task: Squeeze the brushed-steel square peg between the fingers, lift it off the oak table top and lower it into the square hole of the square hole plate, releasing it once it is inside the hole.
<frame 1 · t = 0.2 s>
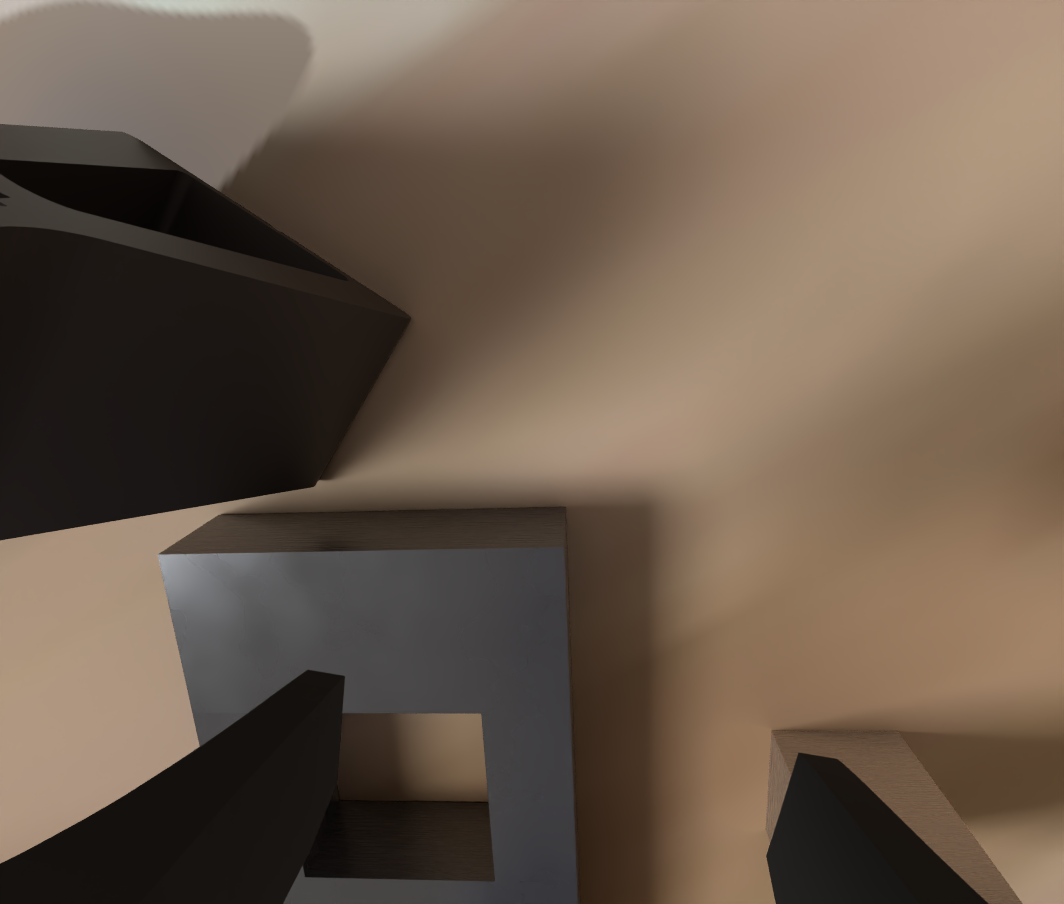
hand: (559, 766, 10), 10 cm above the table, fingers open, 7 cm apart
square hole plate: (419, 778, 22), on the table
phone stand: (235, 319, 18), on the table
steel peg: (829, 781, 21), on the table
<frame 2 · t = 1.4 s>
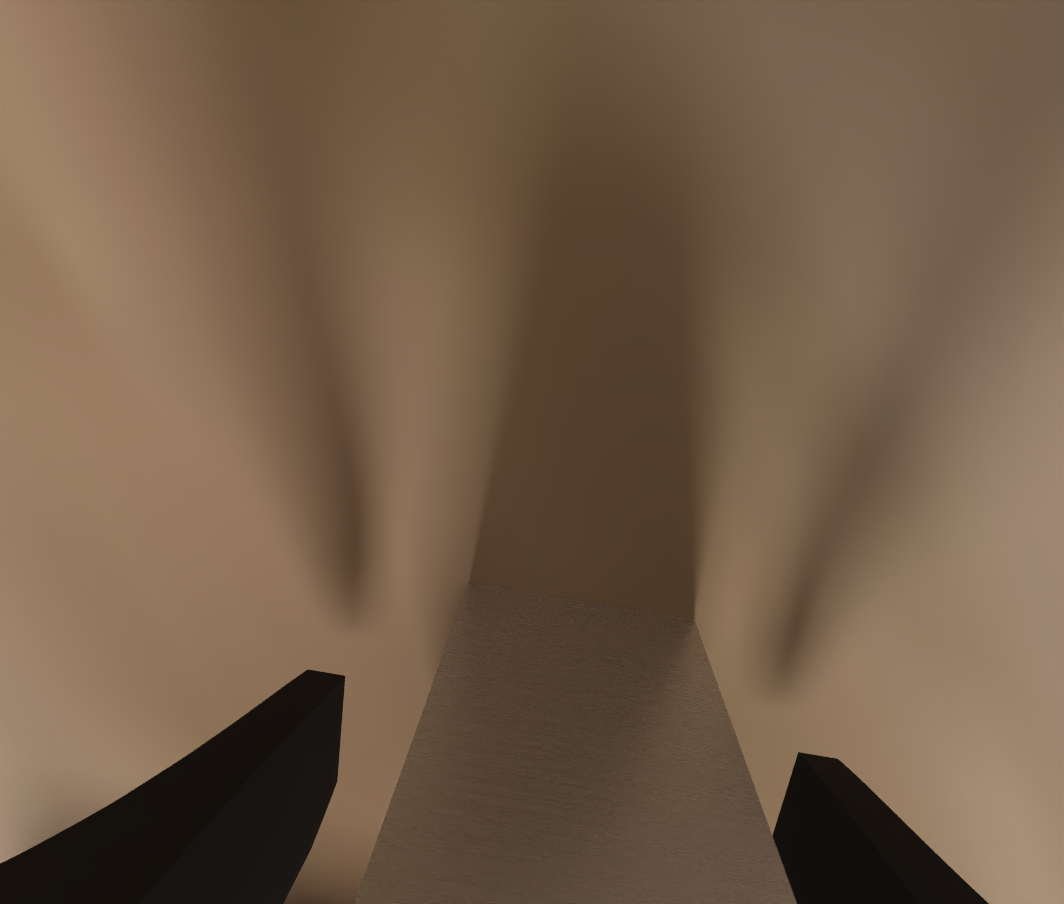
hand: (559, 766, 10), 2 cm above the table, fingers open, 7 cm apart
steel peg: (563, 697, 12), on the table
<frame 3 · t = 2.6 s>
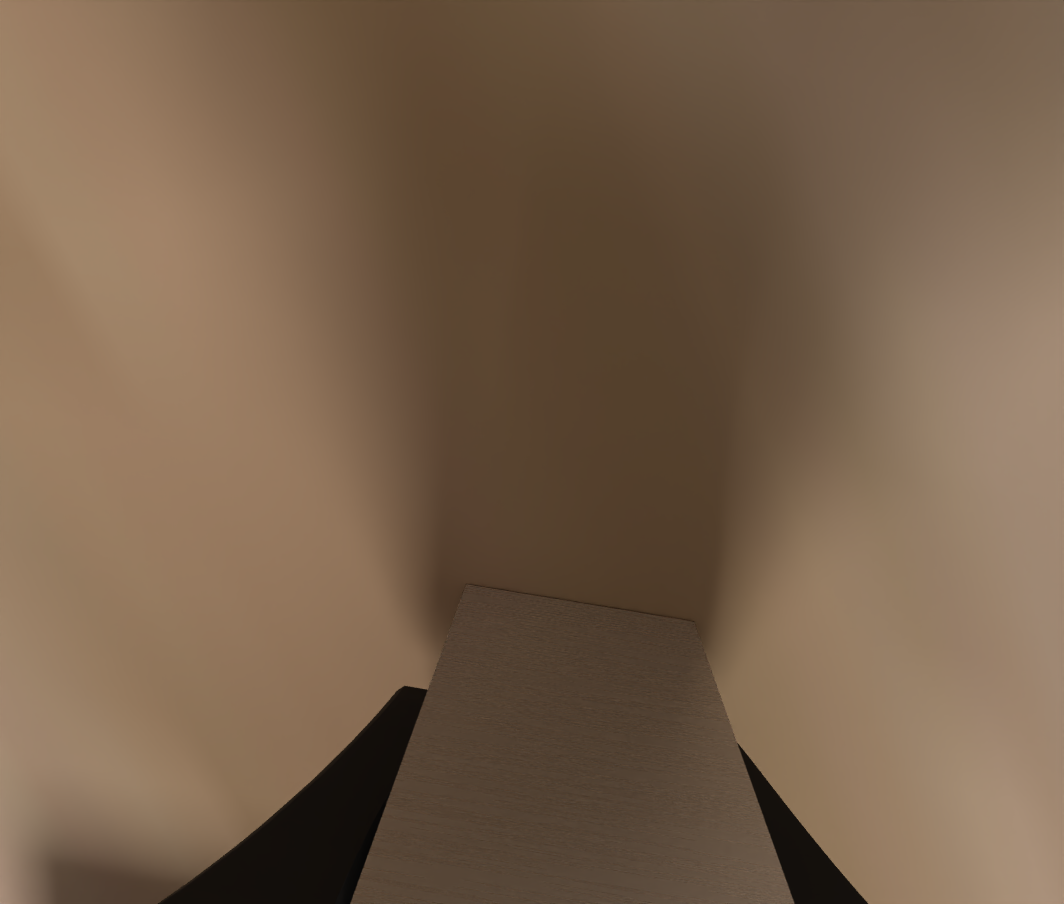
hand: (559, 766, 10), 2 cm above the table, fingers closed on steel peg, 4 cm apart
steel peg: (561, 700, 11), on the table, touching gripper
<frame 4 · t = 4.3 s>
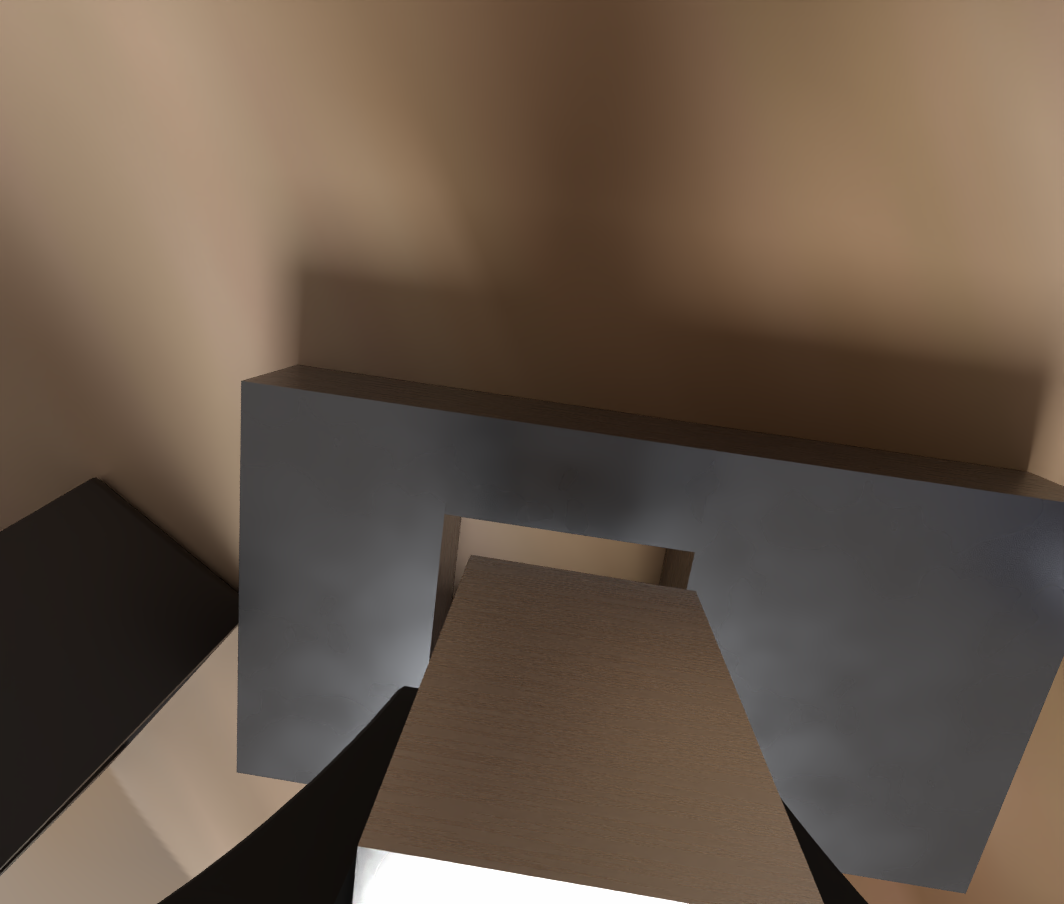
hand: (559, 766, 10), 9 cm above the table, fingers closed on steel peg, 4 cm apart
square hole plate: (621, 598, 18), on the table
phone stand: (109, 628, 20), on the table
steel peg: (564, 671, 11), point 7 cm above the table, touching gripper
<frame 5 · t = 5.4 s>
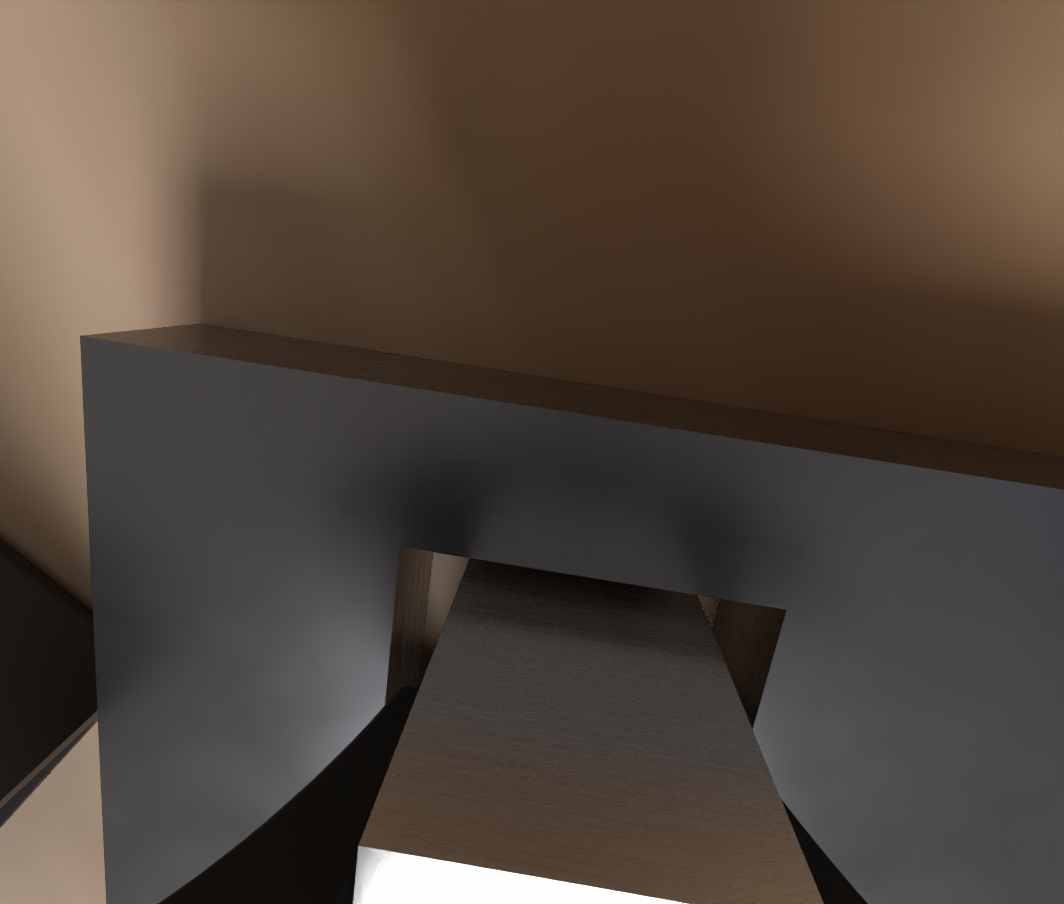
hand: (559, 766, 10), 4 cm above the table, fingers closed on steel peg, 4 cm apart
square hole plate: (657, 656, 13), on the table
steel peg: (565, 671, 12), point 2 cm above the table, touching gripper
when the fingers open (3 cm above the table, at t = 6.3 s): steel peg drops 1 cm, resting in square hole plate.
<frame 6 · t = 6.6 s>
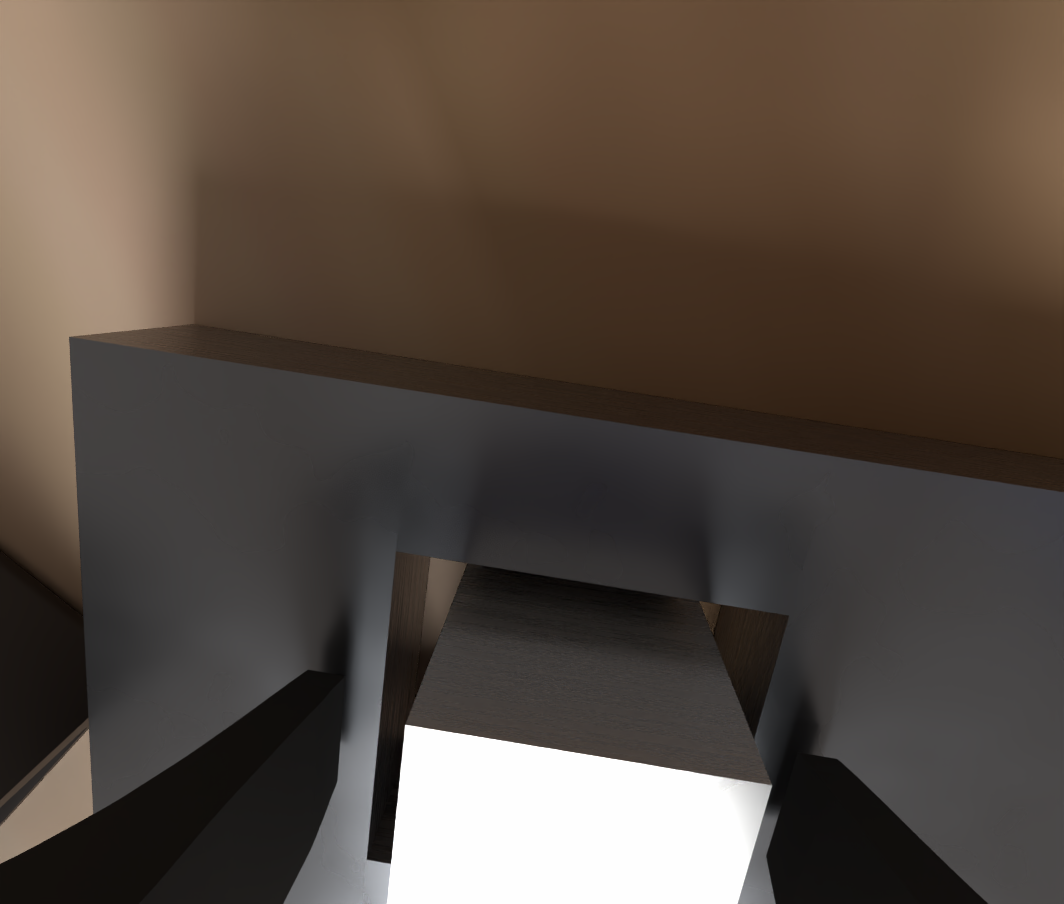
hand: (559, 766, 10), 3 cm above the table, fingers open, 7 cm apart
square hole plate: (657, 661, 13), on the table
steel peg: (566, 626, 13), resting in square hole plate
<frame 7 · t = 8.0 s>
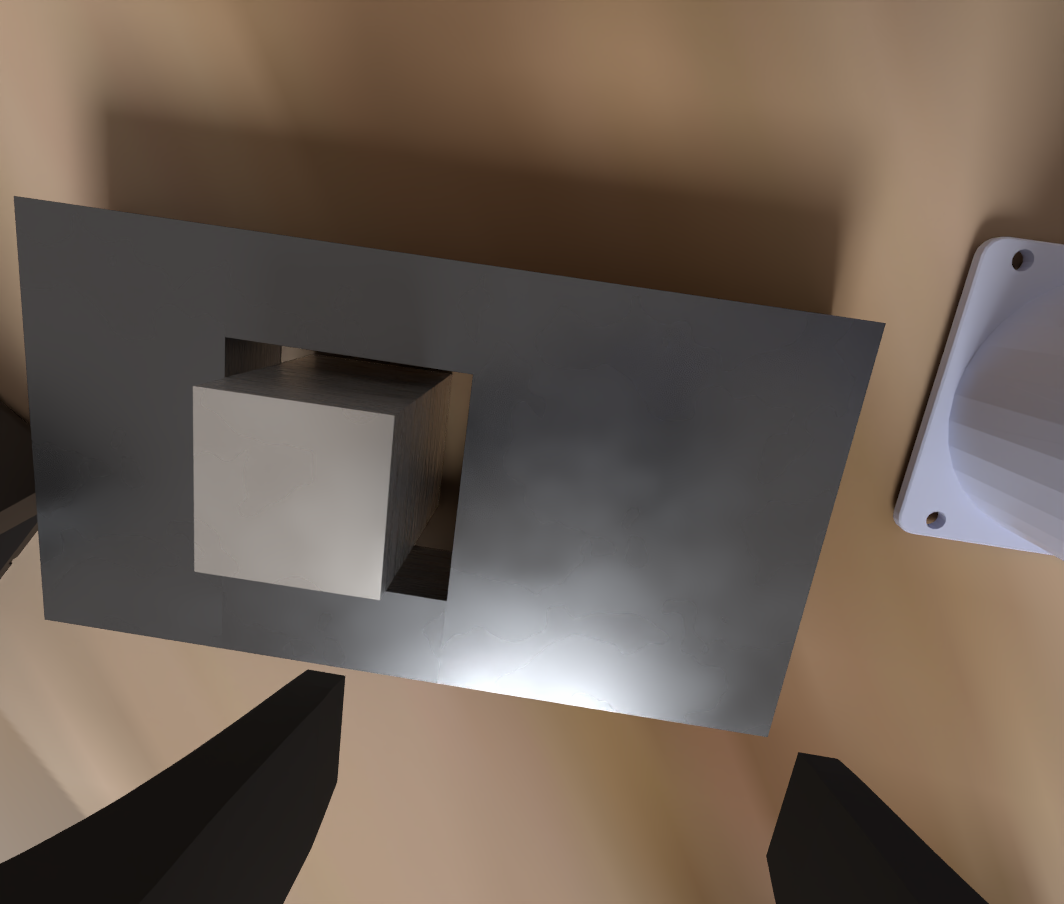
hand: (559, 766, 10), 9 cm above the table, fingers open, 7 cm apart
square hole plate: (443, 455, 18), on the table
steel peg: (378, 431, 18), resting in square hole plate
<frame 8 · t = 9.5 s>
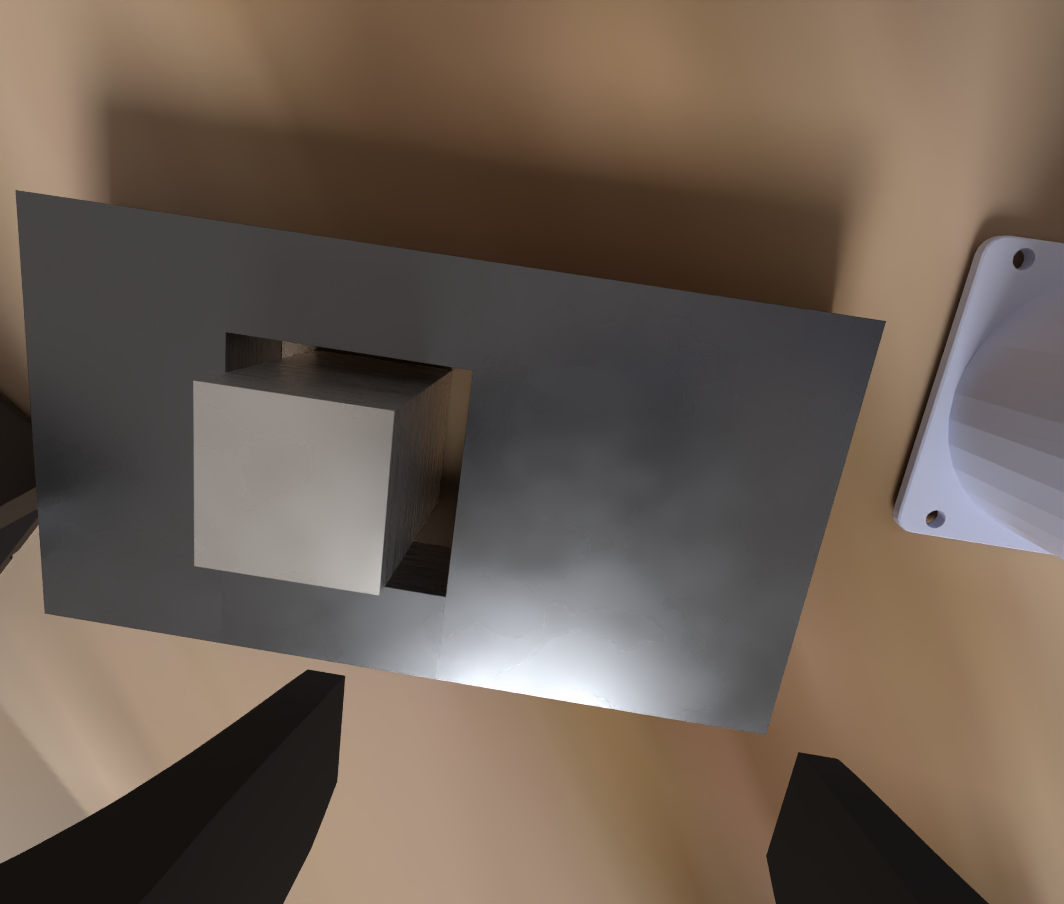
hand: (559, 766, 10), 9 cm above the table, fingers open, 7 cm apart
square hole plate: (443, 452, 18), on the table
steel peg: (378, 427, 18), resting in square hole plate
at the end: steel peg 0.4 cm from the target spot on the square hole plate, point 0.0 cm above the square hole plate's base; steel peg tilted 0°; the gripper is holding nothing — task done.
